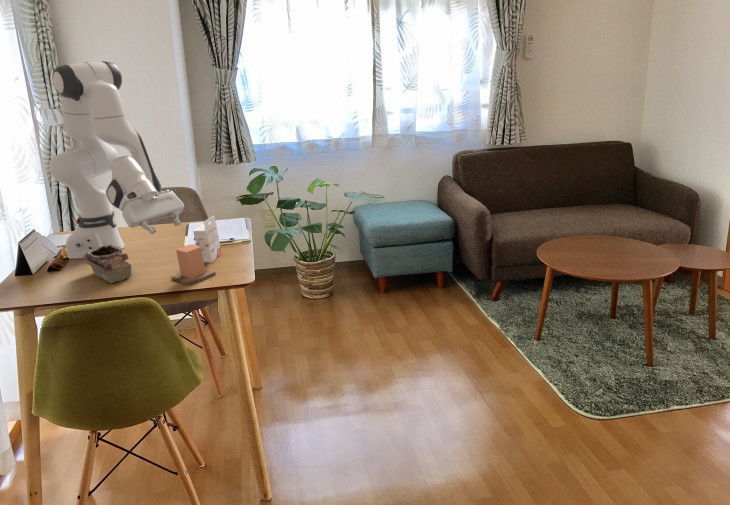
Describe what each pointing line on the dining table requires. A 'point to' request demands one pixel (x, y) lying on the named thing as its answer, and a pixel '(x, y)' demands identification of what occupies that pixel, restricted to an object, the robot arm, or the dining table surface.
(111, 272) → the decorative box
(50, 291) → the dining table surface
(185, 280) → the post stand
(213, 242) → the ink cartridge box
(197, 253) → the salmon pink toy brick
